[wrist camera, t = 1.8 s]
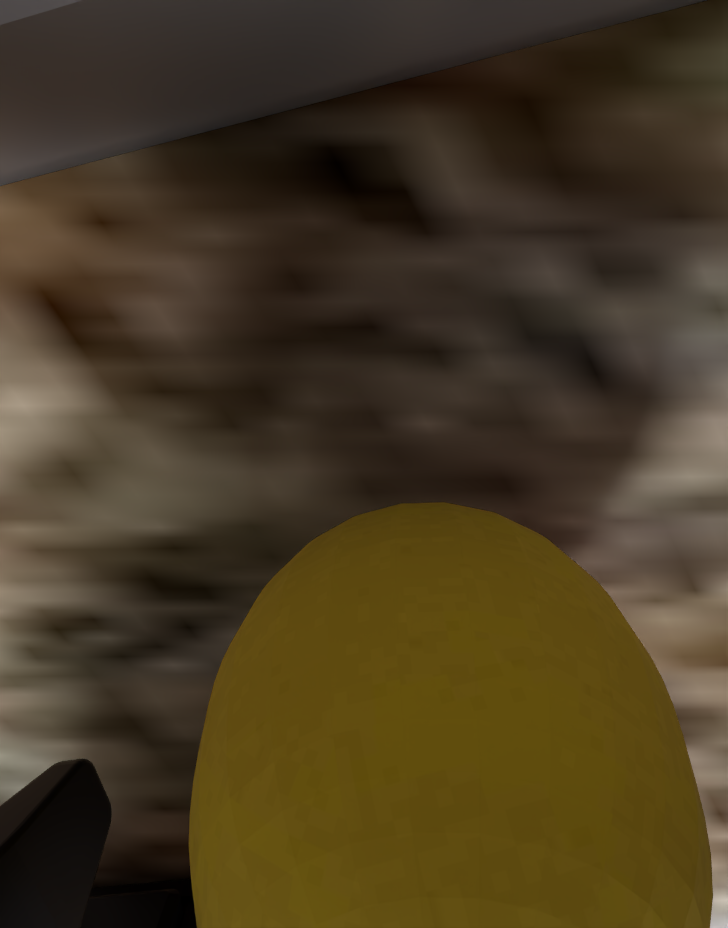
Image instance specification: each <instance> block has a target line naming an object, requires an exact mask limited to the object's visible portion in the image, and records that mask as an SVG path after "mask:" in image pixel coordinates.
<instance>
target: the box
mask: <svg viewBox="0 0 728 928" xmlns="http://www.w3.org/2000/svg"><path fill="white" fill-rule="evenodd" d="M703 1H706V0H0V186H2V185H6V184H9V183H13V182H17V181H21V180H25V179H28V178H32V177H36V176H40V175H44V174H47V173H51V172H55V171H59V170H63V169H67V168H70V167H74V166H78V165H82V164H86V163H89V162H93V161H97V160H101V159H105V158H108V157H112V156H116V155H120V154H124V153H127V152H131V151H135V150H139V149H143V148H146V147H150V146H154V145H158V144H162V143H166V142H169V141H173V140H177V139H181V138H185V137H188V136H192V135H196V134H200V133H204V132H207V131H211V130H215V129H219V128H223V127H226V126H230V125H234V124H238V123H242V122H246V121H249V120H253V119H257V118H261V117H265V116H268V115H272V114H276V113H280V112H284V111H287V110H291V109H295V108H299V107H303V106H306V105H310V104H314V103H318V102H322V101H325V100H329V99H333V98H337V97H341V96H345V95H348V94H352V93H356V92H360V91H364V90H367V89H371V88H375V87H379V86H383V85H386V84H390V83H394V82H398V81H402V80H405V79H409V78H413V77H417V76H421V75H425V74H428V73H432V72H436V71H440V70H444V69H447V68H451V67H455V66H459V65H463V64H466V63H470V62H474V61H478V60H482V59H485V58H489V57H493V56H497V55H501V54H504V53H508V52H512V51H516V50H520V49H524V48H527V47H531V46H535V45H539V44H543V43H546V42H550V41H554V40H558V39H562V38H565V37H569V36H573V35H577V34H581V33H584V32H588V31H592V30H596V29H600V28H603V27H607V26H611V25H615V24H619V23H623V22H626V21H630V20H634V19H638V18H642V17H645V16H649V15H653V14H657V13H661V12H664V11H668V10H672V9H676V8H680V7H683V6H687V5H691V4H695V3H699V2H703Z"/></svg>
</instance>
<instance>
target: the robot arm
mask: <svg viewBox="0 0 728 928" xmlns="http://www.w3.org/2000/svg"><path fill="white" fill-rule="evenodd" d="M110 823H111V804H110V801H109V799H108V796H107V794H106V792H105V790H104V787H103V785H102V783H101V781H100V778H99V776H98V774H97V772H96V769H95V767H94V765H93V764H92V763H91V762H90V761H89V760H87V759H76V760H68V761H62V762H58V763H56V764H54V765H53V766H51V767H50V768H49V769H47V770H46V771H45V772H43V773H42V774H41V775H40V776H38V777H37V778H36V779H34V780H33V781H32V782H30V783H29V784H28V785H27V786H25V787H24V788H23V789H21V790H20V791H19V792H18V793H16V794H15V795H14V796H12V797H11V798H10V799H9V800H7V801H6V802H5V803H3V804H2V805H1V806H0V928H197V924H196V916H195V908H194V900H193V892H192V883H191V879H185V880H175V881H164V882H154V883H144V884H134V885H124V886H114V887H104V888H94V889H92V886H93V882H94V879H95V875H96V872H97V868H98V865H99V862H100V858H101V855H102V851H103V848H104V844H105V841H106V838H107V834H108V831H109V827H110Z"/></svg>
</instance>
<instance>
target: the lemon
mask: <svg viewBox="0 0 728 928" xmlns="http://www.w3.org/2000/svg"><path fill="white" fill-rule="evenodd" d="M189 857H190V870H191V883H192V892H193V900H194V908H195V916H196V924H197V928H710V920H711V910H712V899H713V888H712V867H711V852H710V846H709V840H708V834H707V828H706V822H705V817H704V813H703V809H702V804H701V800H700V796H699V792H698V788H697V784H696V781H695V777H694V773H693V770H692V766H691V763H690V759H689V755H688V752H687V748H686V745H685V741H684V737H683V734H682V731H681V728H680V724H679V721H678V718H677V715H676V712H675V709H674V706H673V703H672V701H671V698H670V696H669V694H668V691H667V689H666V686H665V684H664V681H663V679H662V677H661V675H660V673H659V672H658V670H657V668H656V666H655V664H654V662H653V660H652V658H651V657H650V655H649V654H648V652H647V651H646V649H645V648H644V646H643V645H642V643H641V642H640V640H639V639H638V637H637V636H636V634H635V633H634V631H633V630H632V628H631V627H630V625H629V624H628V622H627V621H626V619H625V618H624V616H623V615H622V613H621V612H620V611H619V609H618V608H617V606H616V605H615V603H614V602H613V600H612V599H611V597H610V596H609V595H608V593H607V592H606V591H605V590H604V589H603V588H602V586H601V585H600V584H599V583H598V582H597V581H596V580H595V579H594V578H593V577H592V576H590V575H589V574H588V573H587V572H586V571H585V570H584V569H582V568H581V567H580V566H579V565H578V564H577V563H575V562H574V561H573V560H572V559H571V558H569V557H568V556H567V555H566V554H565V553H564V552H562V551H561V550H560V549H559V548H558V547H556V546H555V545H554V544H553V543H552V542H551V541H549V540H548V539H547V538H545V537H544V536H542V535H540V534H539V533H537V532H535V531H533V530H531V529H528V528H526V527H524V526H522V525H520V524H518V523H516V522H514V521H512V520H510V519H507V518H505V517H503V516H501V515H499V514H497V513H495V512H490V511H485V510H481V509H476V508H471V507H466V506H461V505H456V504H451V503H446V502H435V503H401V504H397V505H393V506H390V507H386V508H382V509H378V510H375V511H371V512H367V513H363V514H360V515H357V516H354V517H352V518H350V519H348V520H347V521H345V522H343V523H341V524H339V525H338V526H336V527H334V528H332V529H330V530H329V531H327V532H325V533H323V534H321V535H320V536H318V537H316V538H315V539H313V540H312V541H311V542H309V543H308V544H307V545H306V546H305V547H304V548H303V549H302V550H301V551H300V552H299V553H297V554H296V555H295V556H294V557H293V558H292V559H291V560H290V561H289V562H288V563H287V564H286V565H285V566H284V567H283V568H282V569H281V570H280V571H279V572H278V573H277V574H276V575H275V576H274V577H273V578H272V579H271V580H270V581H269V582H268V583H267V585H266V586H265V587H264V588H263V590H262V591H261V593H260V594H259V596H258V597H257V599H256V600H255V602H254V604H253V605H252V607H251V609H250V611H249V612H248V614H247V616H246V617H245V619H244V621H243V623H242V624H241V626H240V628H239V630H238V631H237V633H236V635H235V636H234V638H233V640H232V642H231V644H230V646H229V648H228V650H227V652H226V654H225V656H224V658H223V660H222V662H221V665H220V668H219V670H218V673H217V676H216V679H215V681H214V685H213V689H212V693H211V697H210V700H209V704H208V709H207V713H206V718H205V723H204V728H203V732H202V737H201V742H200V746H199V751H198V757H197V762H196V768H195V774H194V779H193V788H192V797H191V806H190V823H189Z"/></svg>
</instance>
